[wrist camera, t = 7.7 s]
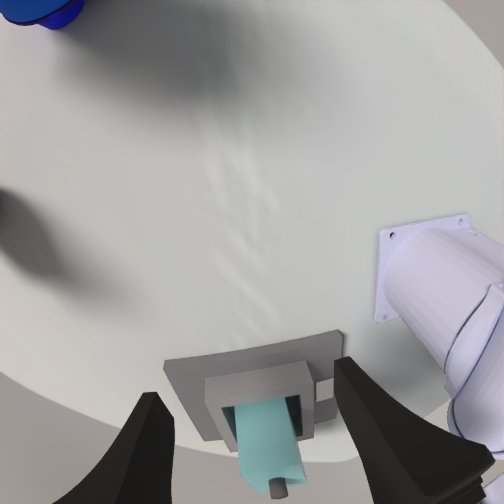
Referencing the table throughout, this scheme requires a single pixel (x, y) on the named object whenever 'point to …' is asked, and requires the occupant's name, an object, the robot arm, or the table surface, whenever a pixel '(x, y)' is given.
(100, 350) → the table surface
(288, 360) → the socket block
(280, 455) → the plug
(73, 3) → the toy
